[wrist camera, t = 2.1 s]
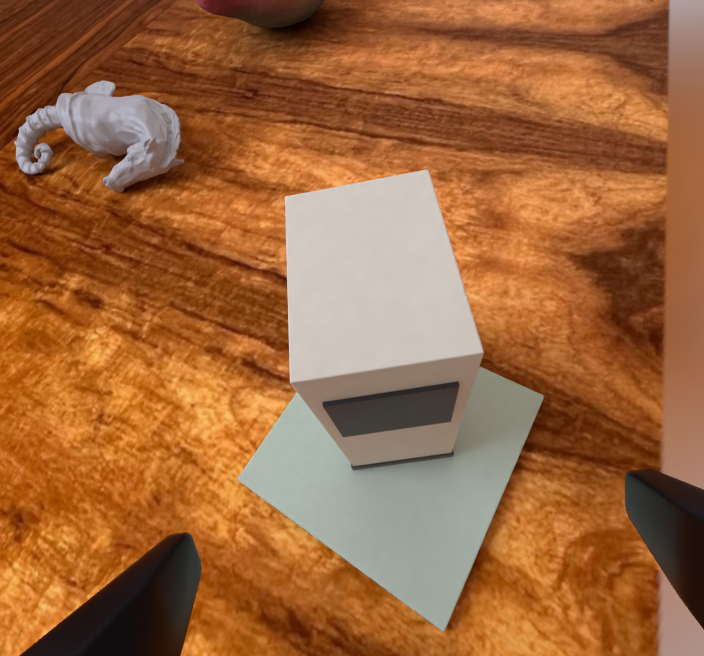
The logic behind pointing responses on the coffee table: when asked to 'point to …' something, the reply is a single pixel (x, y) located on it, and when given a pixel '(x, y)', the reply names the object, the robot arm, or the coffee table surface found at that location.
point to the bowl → (263, 10)
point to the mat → (401, 494)
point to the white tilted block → (379, 319)
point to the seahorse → (106, 133)
